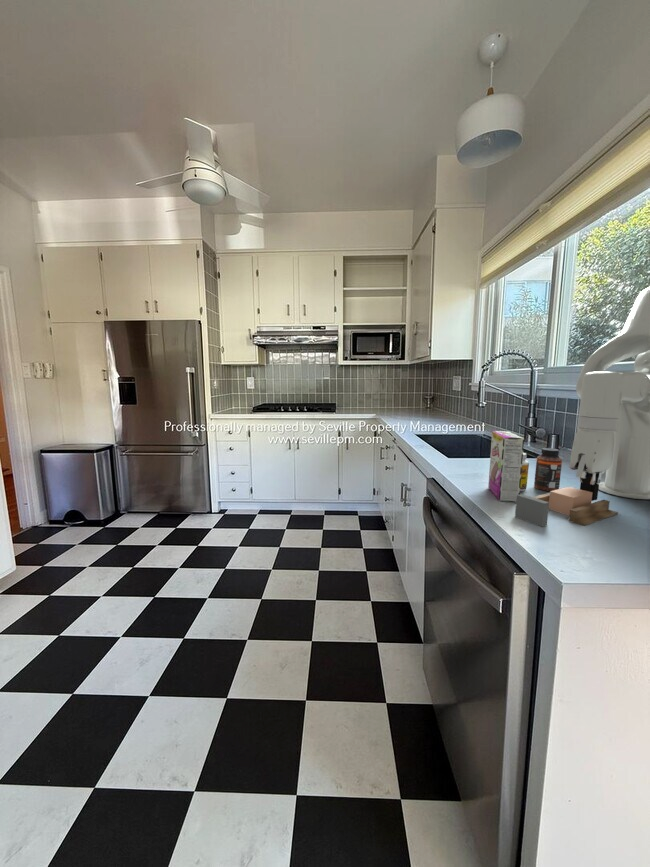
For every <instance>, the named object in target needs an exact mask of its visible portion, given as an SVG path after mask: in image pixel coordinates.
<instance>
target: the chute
mask: <svg viewBox="0 0 650 867" xmlns="http://www.w3.org/2000/svg"><path fill="white" fill-rule="evenodd" d="M532 497H533V498H536V499H540V500H543V501H546V502H549V498H550V492H547V493H544V494H539V495H537V496H536V495H535V496H532ZM616 515H618V511H615V510H612V509H610V500H607V499H601V500H598V501H597V500H596V501H595V502H591V504H587V505H584V506H581V507H577V508H574V509H571V510H570V514H569V515H568V522H572V523H575V524H578V525H581V526H588V525H590V524H594V523H596V522H599V521H602V520H604V519H607V518H610V517H613V516H616Z"/></svg>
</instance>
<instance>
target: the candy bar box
mask: <svg viewBox="0 0 650 867" xmlns="http://www.w3.org/2000/svg"><path fill="white" fill-rule="evenodd" d="M490 442H491V443H490V455H489V456H490V457H489V459H490V460H489V473H488V487H487V488H488V489H489V490H490V491H491V493H492V494H493V495H494V496H495V497H496V499H497V500H498V501H499V502H507V503H509V502H510V503H516V499H517V495H520V494H521V491H520V485H521V472H522V460H523V453H524V445H525V444H524V443H525V438H524V437H522V436H520V435H517V434H516V433H514V432H511V431H507V430H506V431H505V430H493V431H491V441H490Z"/></svg>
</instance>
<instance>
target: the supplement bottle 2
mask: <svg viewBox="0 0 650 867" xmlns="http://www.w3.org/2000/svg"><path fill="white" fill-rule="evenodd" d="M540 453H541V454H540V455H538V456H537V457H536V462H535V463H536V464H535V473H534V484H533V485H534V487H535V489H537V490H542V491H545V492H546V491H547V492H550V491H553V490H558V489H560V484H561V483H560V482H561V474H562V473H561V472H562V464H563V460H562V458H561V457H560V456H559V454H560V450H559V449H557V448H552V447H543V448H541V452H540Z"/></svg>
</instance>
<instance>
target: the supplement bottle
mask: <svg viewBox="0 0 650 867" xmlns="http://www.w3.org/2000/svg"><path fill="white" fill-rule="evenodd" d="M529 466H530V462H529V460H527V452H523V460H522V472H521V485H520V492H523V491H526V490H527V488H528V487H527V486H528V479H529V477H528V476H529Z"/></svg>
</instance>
